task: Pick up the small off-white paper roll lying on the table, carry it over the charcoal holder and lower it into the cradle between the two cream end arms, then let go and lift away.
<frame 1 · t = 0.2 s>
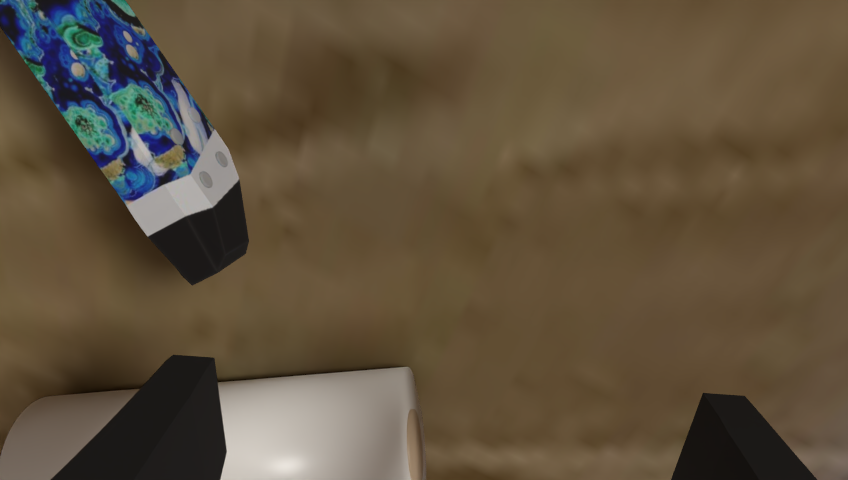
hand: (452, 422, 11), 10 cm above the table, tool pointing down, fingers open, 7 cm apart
roll: (226, 462, 24), point 2 cm above the table
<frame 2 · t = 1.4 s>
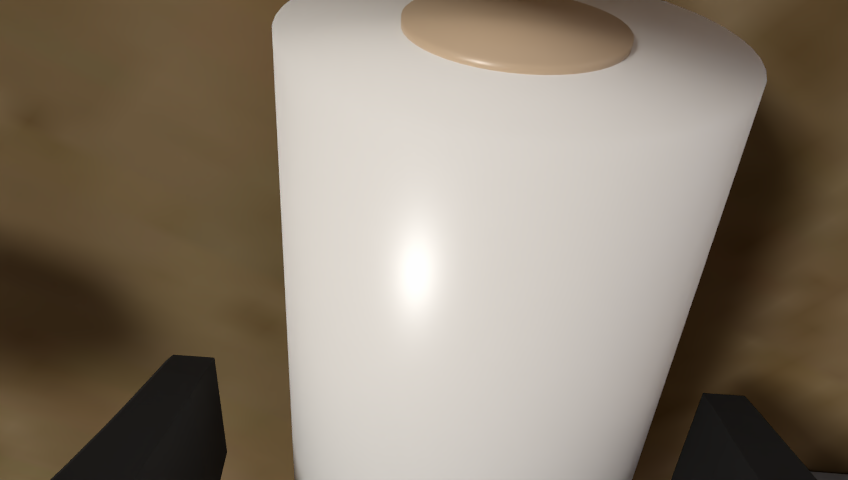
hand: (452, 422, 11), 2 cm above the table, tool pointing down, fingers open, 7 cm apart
roll: (462, 426, 11), point 2 cm above the table
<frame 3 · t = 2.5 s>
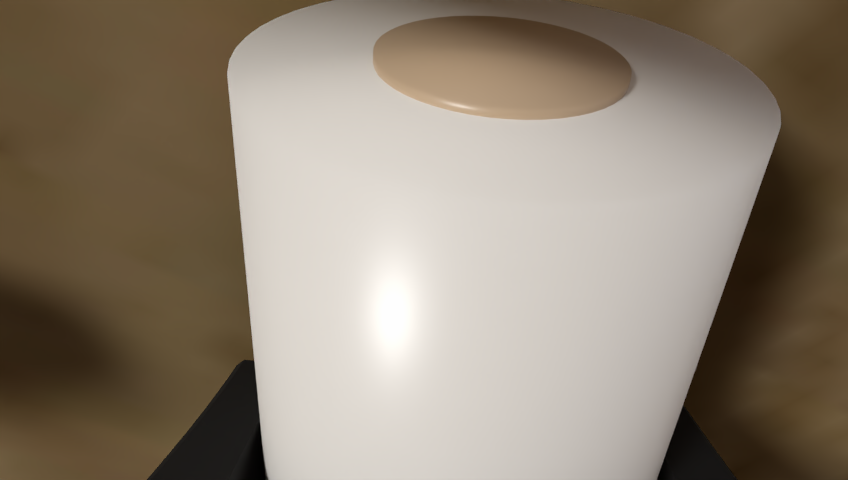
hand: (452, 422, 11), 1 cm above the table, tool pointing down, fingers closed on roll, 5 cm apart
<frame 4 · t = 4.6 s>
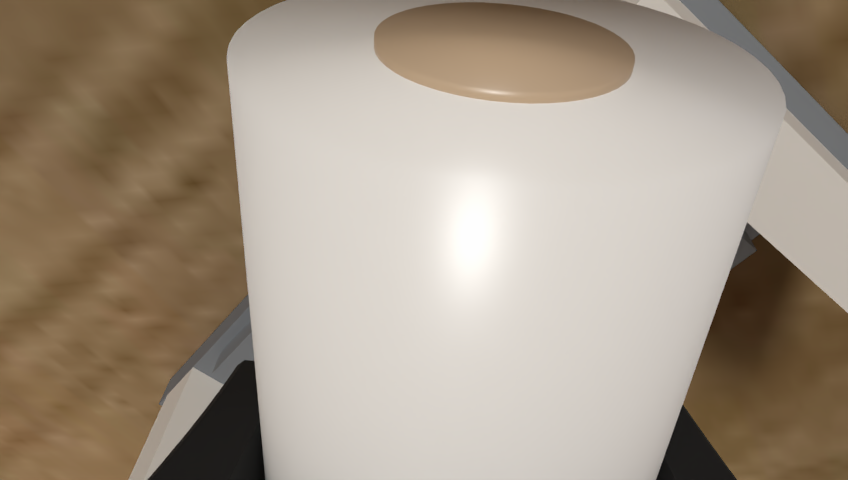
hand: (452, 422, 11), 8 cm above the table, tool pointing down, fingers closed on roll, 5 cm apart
roll: (451, 472, 10), point 9 cm above the table, touching gripper
holder: (463, 274, 20), on the table
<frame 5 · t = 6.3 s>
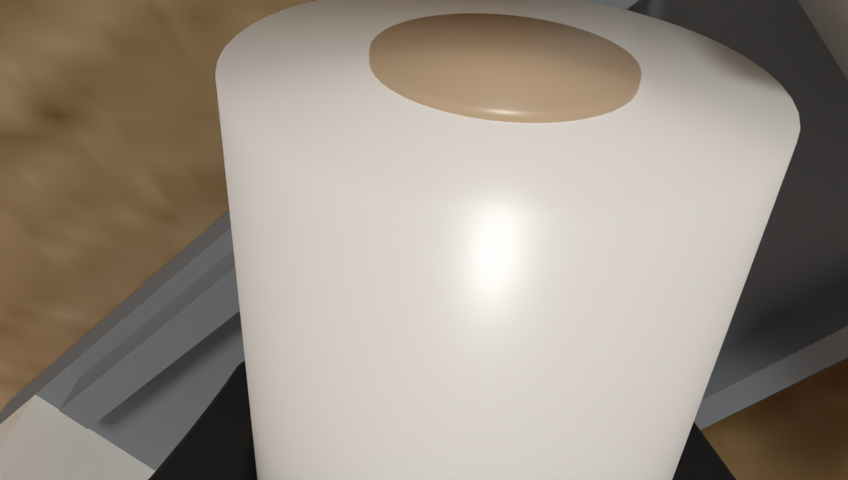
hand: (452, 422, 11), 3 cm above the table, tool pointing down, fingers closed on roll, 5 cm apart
holder: (455, 301, 14), on the table
when the fingers open (3 cm above the table, at t = 7.1 s): roll stays where it is, resting on holder.
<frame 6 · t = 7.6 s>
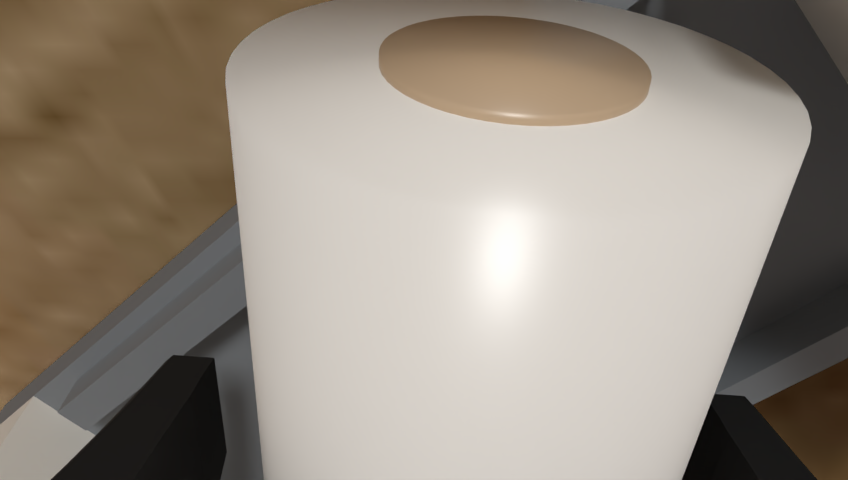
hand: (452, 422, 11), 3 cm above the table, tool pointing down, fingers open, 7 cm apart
holder: (454, 302, 14), on the table
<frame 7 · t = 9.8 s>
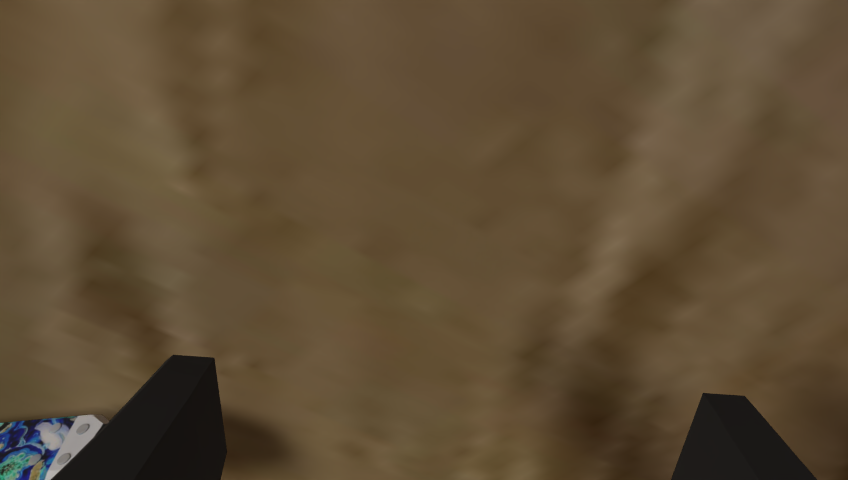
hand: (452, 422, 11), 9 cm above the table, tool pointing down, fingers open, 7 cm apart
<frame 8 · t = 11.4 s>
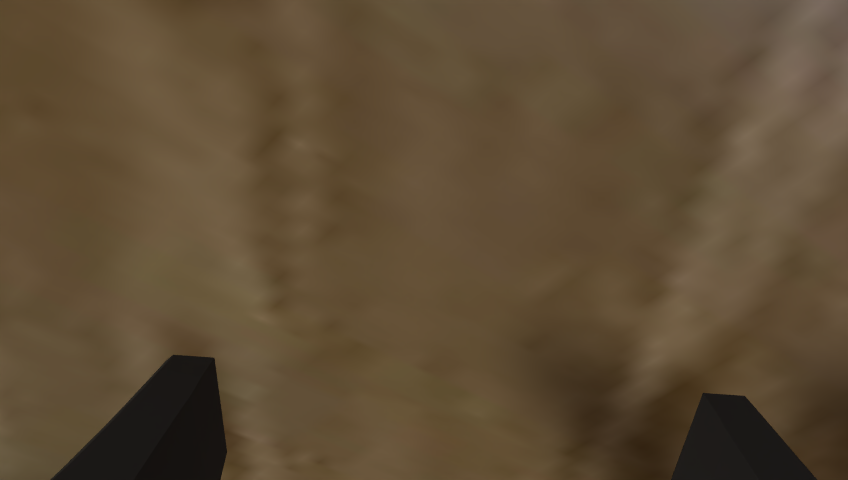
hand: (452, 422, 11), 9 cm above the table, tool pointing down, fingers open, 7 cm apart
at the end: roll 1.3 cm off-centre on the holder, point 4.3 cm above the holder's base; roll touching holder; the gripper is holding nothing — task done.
